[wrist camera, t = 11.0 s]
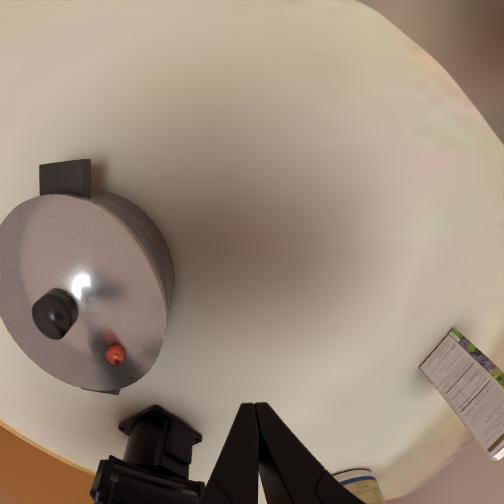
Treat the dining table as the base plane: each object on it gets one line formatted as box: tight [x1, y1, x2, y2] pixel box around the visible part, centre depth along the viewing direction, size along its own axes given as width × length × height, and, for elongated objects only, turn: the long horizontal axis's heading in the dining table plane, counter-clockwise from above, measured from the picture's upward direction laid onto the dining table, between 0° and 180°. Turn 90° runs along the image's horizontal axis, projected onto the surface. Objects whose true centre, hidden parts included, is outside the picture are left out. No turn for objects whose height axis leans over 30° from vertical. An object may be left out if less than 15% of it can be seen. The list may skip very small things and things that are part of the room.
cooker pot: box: [39, 159, 174, 395], centre depth 17 cm, size 13×14×4 cm
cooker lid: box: [0, 193, 167, 391], centre depth 13 cm, size 13×13×3 cm
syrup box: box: [420, 328, 504, 460], centre depth 18 cm, size 6×6×14 cm
